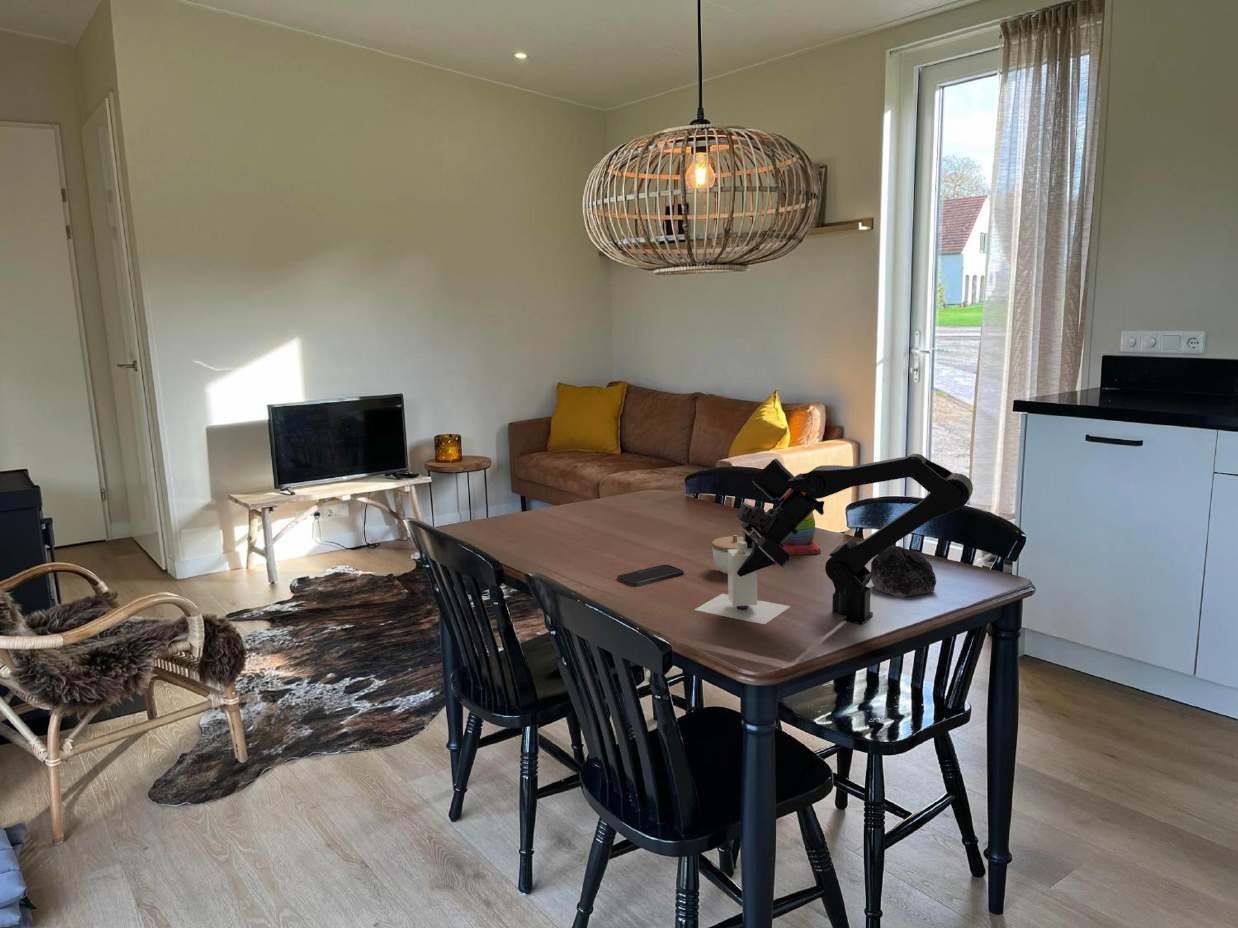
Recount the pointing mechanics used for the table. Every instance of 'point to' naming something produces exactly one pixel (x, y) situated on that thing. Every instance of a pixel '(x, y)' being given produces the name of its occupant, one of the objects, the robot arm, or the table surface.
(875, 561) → the dark rough rock
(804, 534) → the stacking bear
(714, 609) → the stone board
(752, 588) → the white knobbed block
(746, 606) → the metal post
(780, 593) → the table surface
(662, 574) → the phone
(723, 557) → the lidded jar
